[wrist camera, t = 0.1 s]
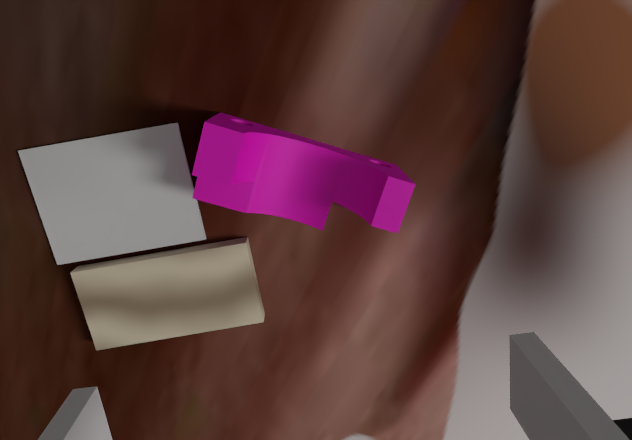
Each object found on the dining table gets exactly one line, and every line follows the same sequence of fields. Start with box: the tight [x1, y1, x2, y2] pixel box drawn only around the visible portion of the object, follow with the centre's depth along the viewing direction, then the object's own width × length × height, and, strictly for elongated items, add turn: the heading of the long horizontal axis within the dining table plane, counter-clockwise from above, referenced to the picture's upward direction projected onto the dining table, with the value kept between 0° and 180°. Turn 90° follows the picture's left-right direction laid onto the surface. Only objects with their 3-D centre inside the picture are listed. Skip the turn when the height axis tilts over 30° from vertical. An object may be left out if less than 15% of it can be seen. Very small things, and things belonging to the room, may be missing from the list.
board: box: [70, 237, 265, 350], centre depth 44 cm, size 8×15×2 cm, turn 100°
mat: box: [18, 123, 206, 265], centre depth 42 cm, size 10×13×1 cm
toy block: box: [192, 112, 415, 233], centre depth 39 cm, size 15×6×8 cm, turn 73°
